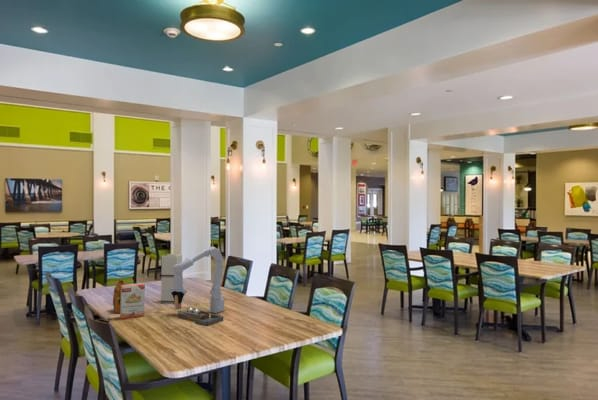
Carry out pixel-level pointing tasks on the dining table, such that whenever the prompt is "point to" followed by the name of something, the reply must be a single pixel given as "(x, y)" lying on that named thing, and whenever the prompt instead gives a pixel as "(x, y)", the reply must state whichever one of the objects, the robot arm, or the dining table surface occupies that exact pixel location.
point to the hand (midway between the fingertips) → (178, 302)
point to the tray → (209, 320)
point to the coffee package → (117, 295)
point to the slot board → (202, 316)
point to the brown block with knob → (178, 306)
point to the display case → (168, 276)
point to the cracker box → (132, 300)
